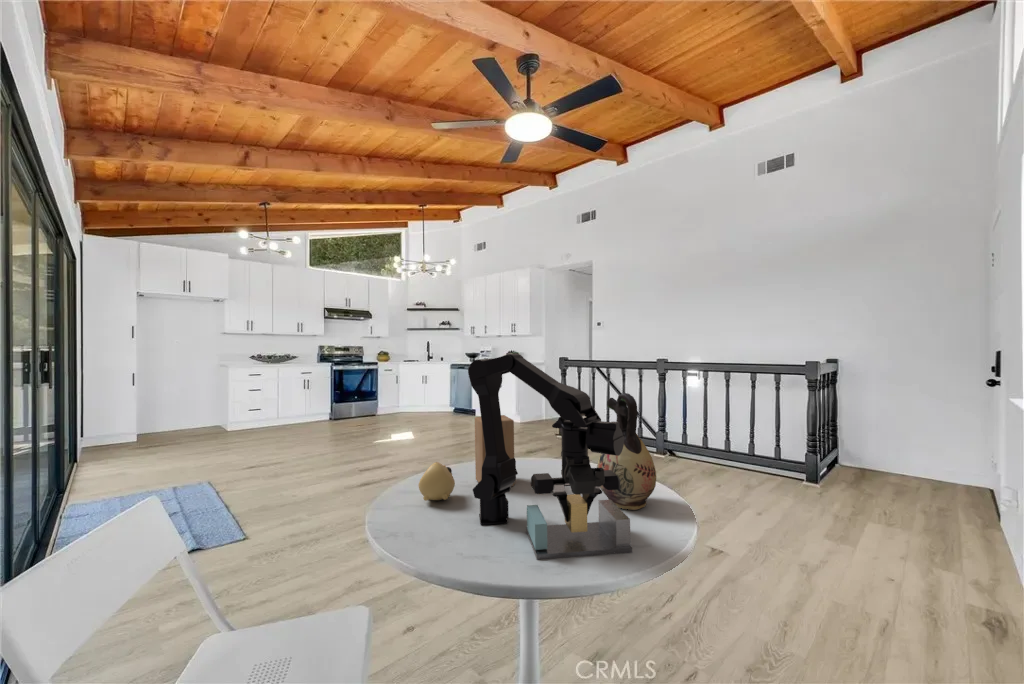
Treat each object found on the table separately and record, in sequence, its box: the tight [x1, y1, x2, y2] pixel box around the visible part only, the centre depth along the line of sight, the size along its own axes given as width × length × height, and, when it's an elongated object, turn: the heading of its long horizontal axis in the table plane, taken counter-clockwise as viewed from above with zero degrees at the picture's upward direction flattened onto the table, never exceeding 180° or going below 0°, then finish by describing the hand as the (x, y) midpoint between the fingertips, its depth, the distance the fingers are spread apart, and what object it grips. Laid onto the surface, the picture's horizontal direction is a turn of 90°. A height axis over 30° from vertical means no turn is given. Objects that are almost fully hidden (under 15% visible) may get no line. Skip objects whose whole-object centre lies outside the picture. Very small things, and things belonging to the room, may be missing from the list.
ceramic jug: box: [596, 392, 657, 511], centre depth 124 cm, size 17×15×30 cm
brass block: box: [564, 493, 588, 533], centre depth 103 cm, size 4×6×6 cm, turn 7°
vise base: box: [525, 499, 633, 561], centre depth 103 cm, size 20×14×6 cm
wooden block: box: [474, 414, 516, 487], centre depth 144 cm, size 10×10×20 cm
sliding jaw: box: [526, 504, 548, 550], centre depth 101 cm, size 2×11×5 cm, turn 7°
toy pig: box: [417, 461, 456, 502], centre depth 130 cm, size 10×12×11 cm
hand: (575, 520), depth 103 cm, fingers closed on brass block, 3 cm apart
